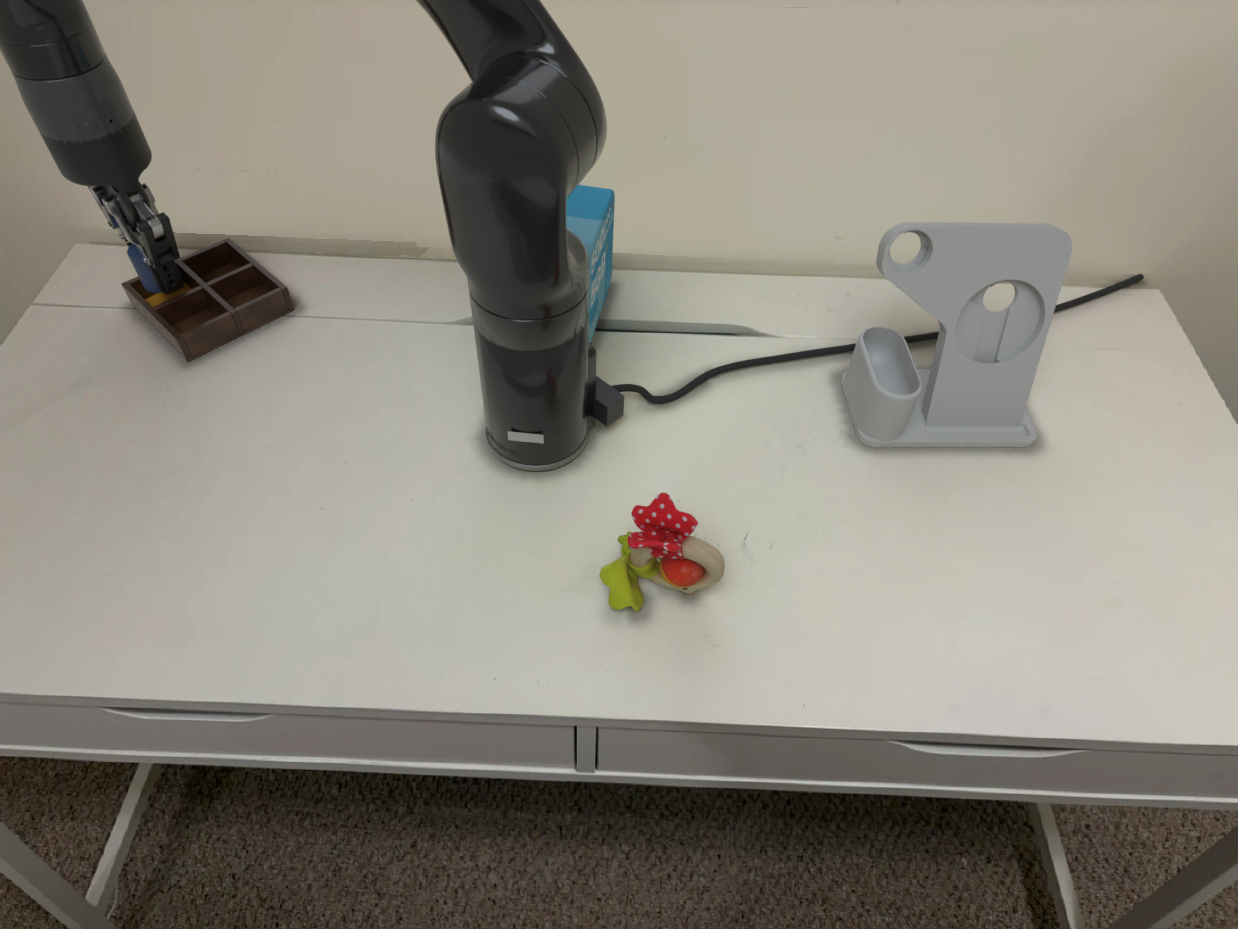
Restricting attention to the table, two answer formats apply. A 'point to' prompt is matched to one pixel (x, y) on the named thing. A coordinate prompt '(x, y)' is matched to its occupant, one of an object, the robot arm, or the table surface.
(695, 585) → the bird rattle
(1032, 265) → the phone holder
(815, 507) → the table surface
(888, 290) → the table surface
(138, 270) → the blue cylinder
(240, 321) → the grid
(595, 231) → the data package
